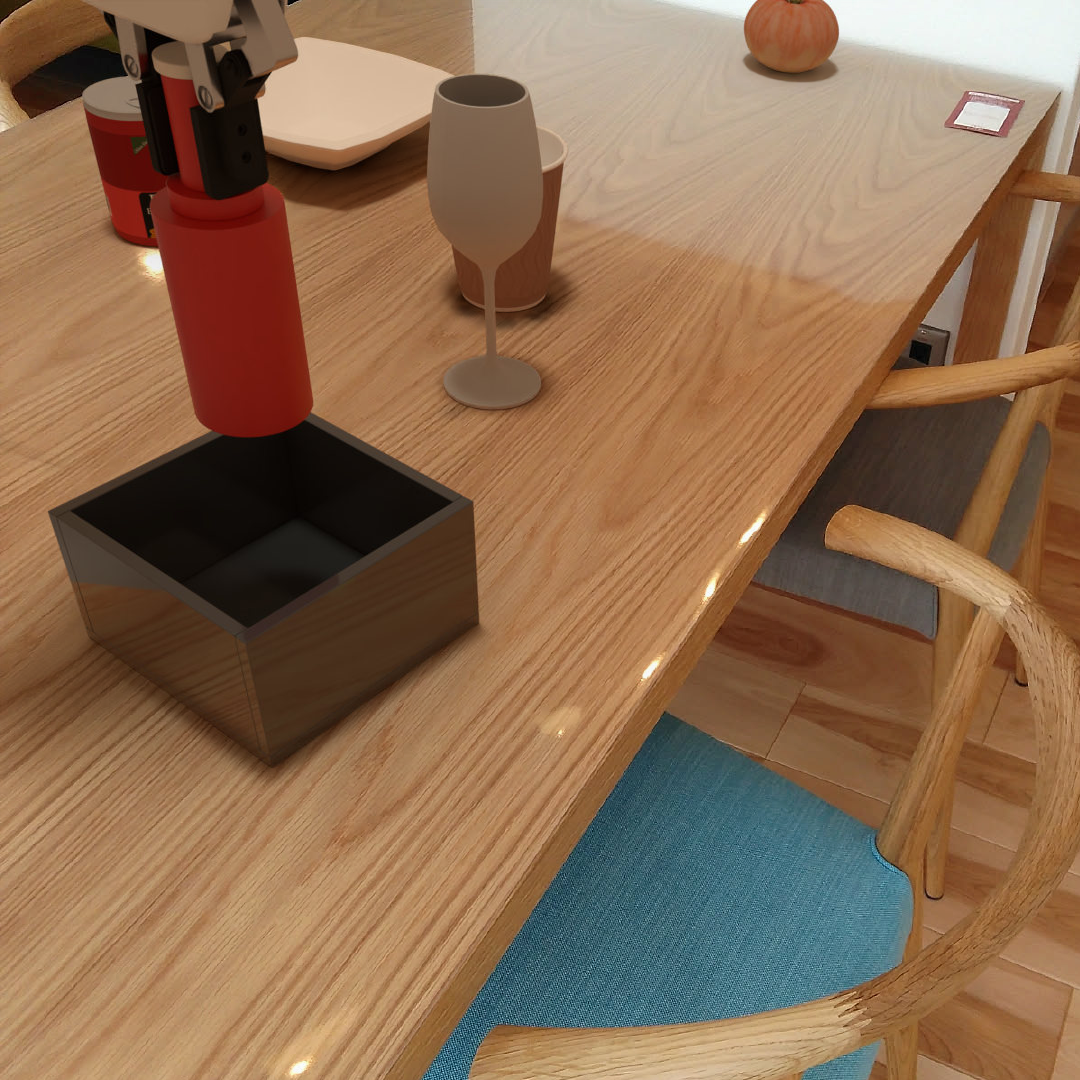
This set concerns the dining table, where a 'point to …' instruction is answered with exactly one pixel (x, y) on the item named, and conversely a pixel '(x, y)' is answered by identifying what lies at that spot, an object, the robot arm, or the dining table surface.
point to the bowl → (343, 103)
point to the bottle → (229, 284)
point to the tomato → (791, 33)
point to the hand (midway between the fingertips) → (211, 174)
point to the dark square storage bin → (272, 576)
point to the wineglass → (486, 210)
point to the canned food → (123, 157)
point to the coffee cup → (531, 265)
